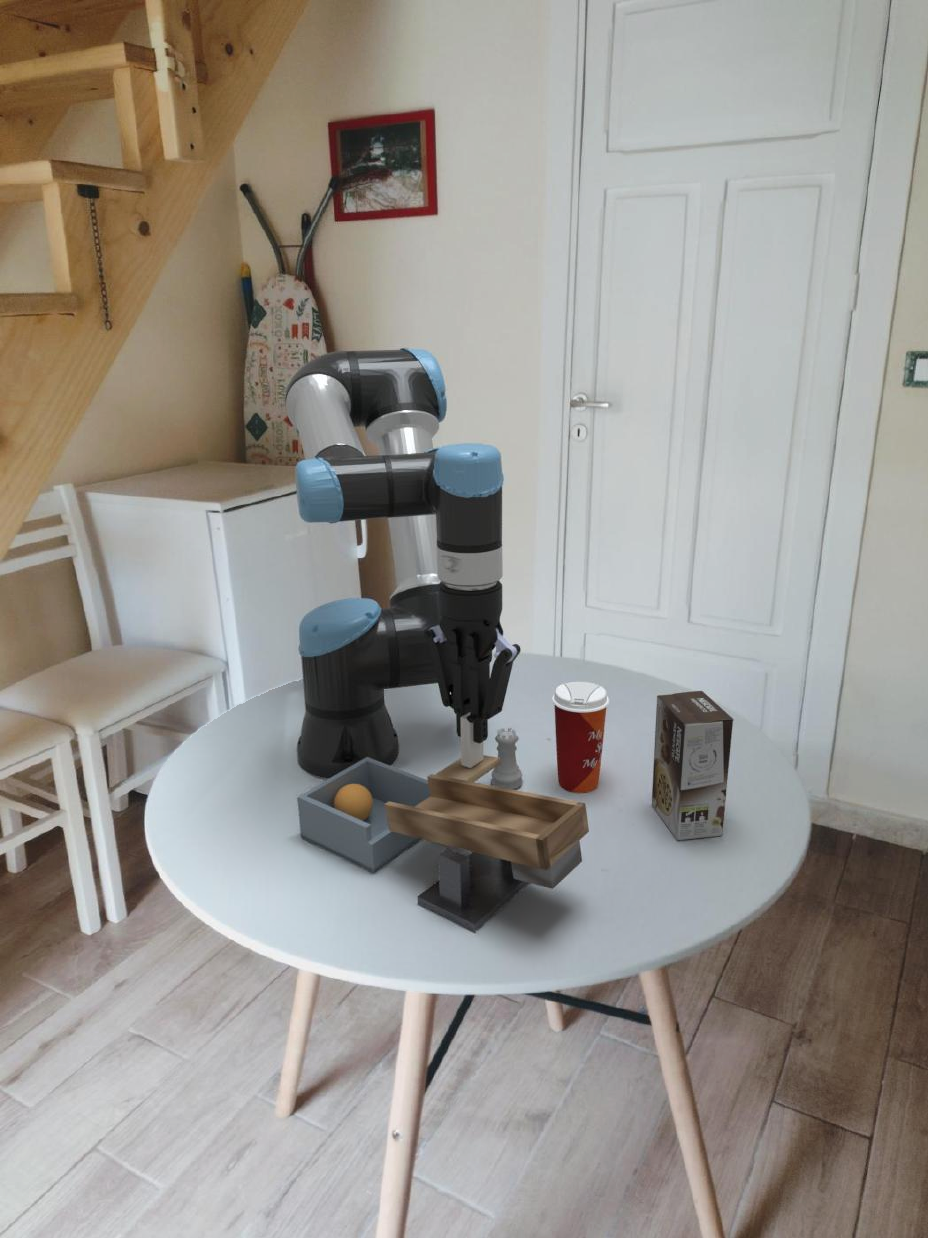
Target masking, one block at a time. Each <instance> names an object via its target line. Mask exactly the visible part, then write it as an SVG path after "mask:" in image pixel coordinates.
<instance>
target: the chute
mask: <svg viewBox="0 0 928 1238" xmlns="http://www.w3.org/2000/svg"><path fill="white" fill-rule="evenodd" d="M483 755H484V754H483ZM499 764H501V762H500V758H499V757H498V756H491V755H484V760H482V761H481V762H479V763H478V764H476V765H475V766H473V767H472V768H469V767H466V766H463V765H461V757H459V758H458V759H457V760H455V761H454V762H452V763H451V764H449V765H447V766H446V767H444V768H443V769H441V770H440V771H438V772H437V773H435V774H433V773H432V774H429V775H428V776H427V777H426V780H428V784H429V790H430V797H428V798H427V799H425V800H424V801H422V802H421V803H419V804H418V805H417V806H415V807H412V806H408V805H403V804H399V803H394V802H390V801H389V802H387V803H386V804H384V805H385V811H386V816H387V821H388V827H389V831H392V832H396V833H400V834H404V835H408V836H412V837H416V838H420V839H422V840H425V841H429V842H433V843H436V844H440V845H444V846H447V847H453V848H456V849H460V850H463V851H468V852H472V853H473V852H475V853H479V854H483V855H487V856H491V857H495V858H499V859H503V860H507V861H511V865H512V871H513V878H514V879H517V880H521V881H524V882H528V883H529V884H532V885H536V886H539V887H543V888H548V889H551V890H554V889H555V888H556V887H557V886H558V885H559V884H560V883H561V882H562V881H563V880H564V879H565V878H566V877H567V876H568V875H569V874H571V873H572V872H573V870H574V869H576V868H577V867H578V866H579V865H580V864H581V863H582V862H583V857H582V850H581V842H580V841H581V840H582V839H583V838H584V837H585V836H586V835H587V834H588V833H589V832H590V829H589V821H588V813H587V806H586V802H581V801H576V800H570V799H567V798H566V799H565V798H561V797H560V798H559V797H555V796H549V795H545V794H544V795H543V794H538V793H534V792H533V793H532V792H527V791H523V790H517V789H514V790H513V789H507V788H502V787H497V786H494V785H490V784H486V783H481V782H480V783H479V782H476V781H477V780H479V779H481V778H482V777H484V776H485V775H487V774H488V773H489V772H492V771H493V770H494V768H495V767H496V766H498V765H499Z"/></svg>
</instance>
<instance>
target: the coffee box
mask: <svg viewBox="0 0 928 1238" xmlns="http://www.w3.org/2000/svg"><path fill="white" fill-rule="evenodd" d="M655 710H656V711H655V712H656V713H655V730H654V746H653V747H654V750H653V770H652V793H651V806H652V807H653V809H654V810H655V811H656V812H657V814H658V816H659V817H660V818H661V820H662V821H663V823H664V824H665V826H666V827H667V828H668V829H669V831H670V832H671V834H672V835H673V837H674V838H675V839H676V840H677V841H683V840H692V839H694V840H695V839H702V838H711V837H720V836H721V837H722V835H723V832H724V821H725V819H724V818H725V811H726V810H725V809H726V803H727V802H726V800H727V788H728V779H729V778H728V777H729V768H730V767H729V766H730V756H731V746H732V735H733V734H732V733H733V727H734V726H733V725H734V720H735V719H734V718H733V717H732V716H731V715H730V714H729V713H727V712H726V711H725V710H724V709H723V708H722V707H720V706H719V704H717V703H716V702H715V701H714V700H713V699H712V698H711V697H710V696H708V695H707V693H705V692H704V691H703V690H694V691H693V690H692V691H685V692H677V693H671V694H660V695H656V709H655Z"/></svg>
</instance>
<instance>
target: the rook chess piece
mask: <svg viewBox="0 0 928 1238" xmlns="http://www.w3.org/2000/svg"><path fill="white" fill-rule="evenodd" d="M494 741H495V742H496V743H497V746H496V750H497V752H498V753H497V757H499V758H500V762H501V764H499V765H498V766H496V767H495V768H494V769H492V770H491V779H490V781H491V784H492V786H497V787H502V788H507V789H513V790H517V789H519V787H520V786H521V785H522V783H523V782H524V781H523V778H522V777H523V772H522V770H521V768H520V766H519V765H518V763H517V756H516V752H517V749H518V747H517V746H516V743H518V741H519V736H518V735H517V732H516V730H515V729H512V728H510V727H507V730H505V727H504V728H500V729H498V730H497V734H496V736H495V737H494Z"/></svg>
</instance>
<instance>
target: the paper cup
mask: <svg viewBox="0 0 928 1238" xmlns="http://www.w3.org/2000/svg"><path fill="white" fill-rule="evenodd" d="M607 694H608V693H607V691H606V689H605V688H604V687H603V686H601V685H599V684H596V683H593V682H589V681H588V682H587V681H571V682H570V681H569V682H566V683H562V684H560V685H558V686H557V687H556V689H555V692H554V694H553V695H552V698H551V702H552V704H553V705H554V724H555V746H556V748H555V749H556V765H557V767H556V768H557V780H558V781H557V782H558V785H559V787H561V789H563V790H565V791H567V792H569V793H577V794H584V793H589V792H592V791H594V790H595V789H597V788H598V786H599V780H600V774H601V772H600V771H601V766H602V765H601V764H602V757H603V756H602V754H603V744H604V735H605V725H606V724H605V723H606V717H607V707H608V706H609V704H610V698H609V697H608V695H607Z"/></svg>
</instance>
